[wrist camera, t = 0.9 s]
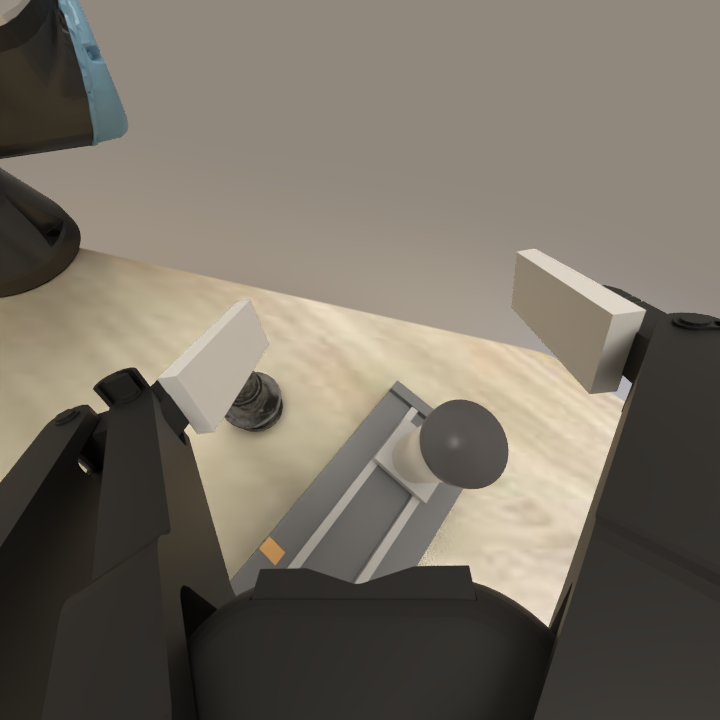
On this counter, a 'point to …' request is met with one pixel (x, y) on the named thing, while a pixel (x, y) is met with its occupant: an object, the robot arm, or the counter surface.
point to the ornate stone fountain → (256, 404)
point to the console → (357, 510)
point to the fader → (446, 450)
